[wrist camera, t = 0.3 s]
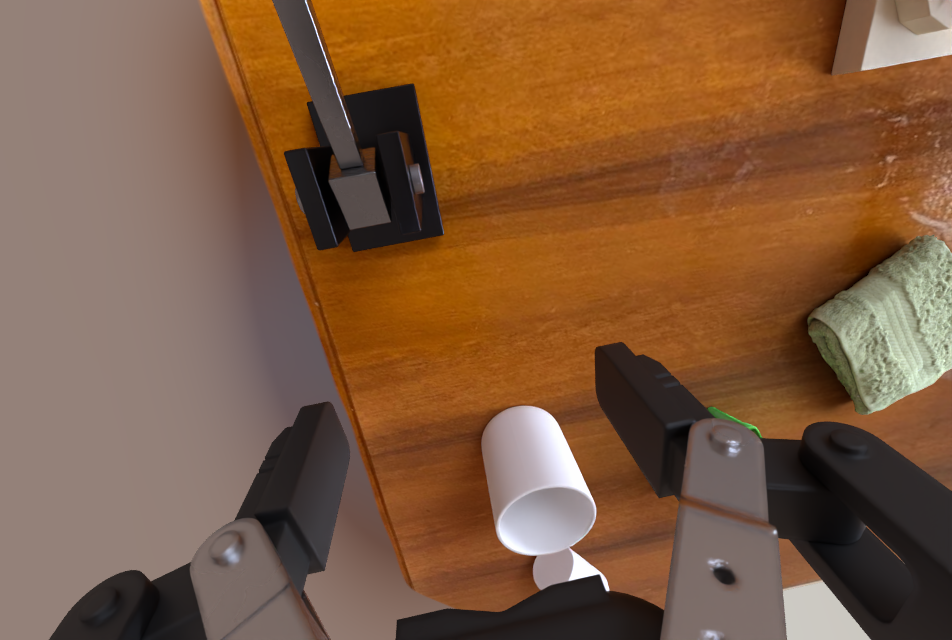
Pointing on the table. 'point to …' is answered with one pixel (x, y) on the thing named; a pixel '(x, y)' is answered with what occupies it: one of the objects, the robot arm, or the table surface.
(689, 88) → the table surface
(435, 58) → the table surface
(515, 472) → the cup
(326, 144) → the bracket
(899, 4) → the button box
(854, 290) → the washcloth
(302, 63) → the lever
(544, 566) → the white bottle
